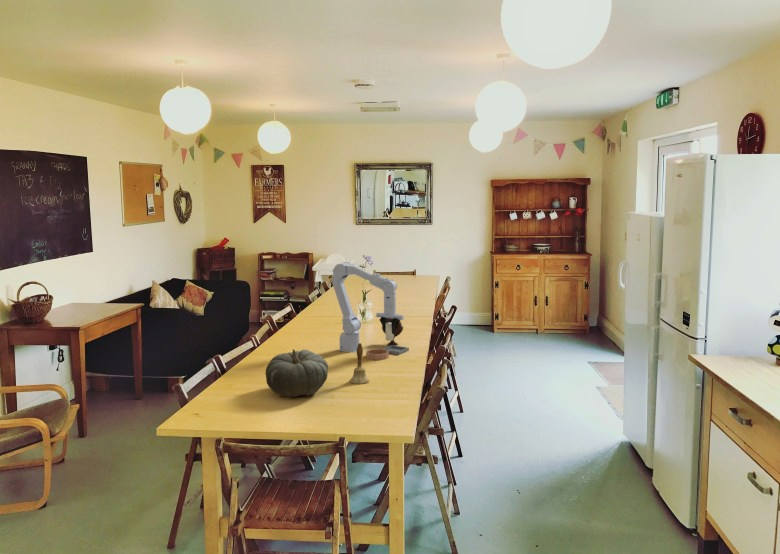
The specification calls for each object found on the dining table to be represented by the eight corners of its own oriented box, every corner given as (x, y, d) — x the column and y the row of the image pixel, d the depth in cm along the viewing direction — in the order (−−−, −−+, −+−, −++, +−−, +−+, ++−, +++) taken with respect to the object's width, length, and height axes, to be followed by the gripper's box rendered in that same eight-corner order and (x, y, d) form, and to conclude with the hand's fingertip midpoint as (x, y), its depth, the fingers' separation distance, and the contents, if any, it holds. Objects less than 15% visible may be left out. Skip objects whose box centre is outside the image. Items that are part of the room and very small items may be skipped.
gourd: (317, 371, 258) (314, 334, 252) (340, 398, 237) (338, 357, 231) (259, 386, 247) (255, 347, 241) (278, 415, 226) (275, 373, 220)
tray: (380, 353, 299) (380, 349, 299) (391, 349, 307) (391, 345, 307) (398, 356, 294) (398, 352, 293) (408, 351, 302) (408, 347, 302)
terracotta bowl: (362, 358, 289) (362, 352, 288) (374, 353, 298) (373, 347, 297) (381, 362, 283) (381, 355, 283) (392, 356, 292) (392, 350, 292)
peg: (384, 340, 296) (383, 323, 295) (388, 338, 299) (388, 322, 298) (390, 341, 294) (390, 324, 293) (395, 339, 297) (395, 323, 296)
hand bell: (354, 377, 259) (354, 340, 257) (372, 379, 256) (372, 342, 254) (346, 382, 252) (345, 345, 250) (364, 385, 249) (364, 346, 247)
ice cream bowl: (385, 347, 309) (385, 318, 307) (379, 342, 320) (379, 314, 318) (405, 346, 312) (405, 317, 310) (399, 341, 323) (399, 313, 321)
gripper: (372, 305, 295) (372, 332, 296) (398, 308, 287) (398, 336, 289) (380, 303, 301) (380, 330, 302) (406, 305, 293) (406, 333, 295)
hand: (389, 333), depth 296 cm, fingers closed on peg, 4 cm apart
